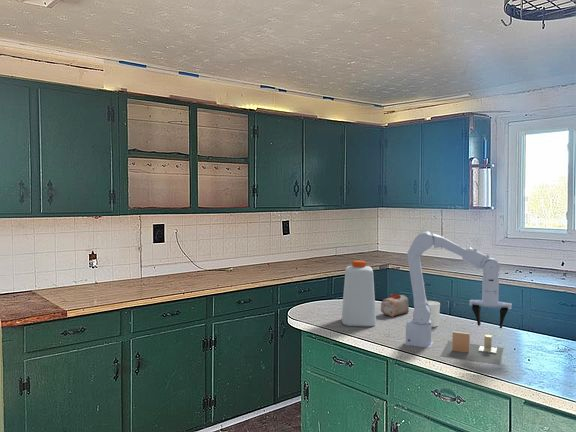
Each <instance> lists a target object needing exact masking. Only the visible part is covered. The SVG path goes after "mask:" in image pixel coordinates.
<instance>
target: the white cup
mask: <svg viewBox="0 0 576 432" xmlns="http://www.w3.org/2000/svg"><path fill="white" fill-rule="evenodd" d="M427 303H428V305H429V306H430V308H431V314H430V320H431V328H435V327H438V326H439V321H440V311H441V309H440V307H441V303H440V301H436V300H435V301H434V300H427Z"/></svg>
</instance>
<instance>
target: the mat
mask: <svg viewBox="0 0 576 432" xmlns="http://www.w3.org/2000/svg"><path fill="white" fill-rule="evenodd" d="M480 346H484V344H477V343H476V344H474V343H470V352H469V353H467V352H460V351H452V340H448V341H447V343H446V345H445V347H444V348H443V350H442V352H441V354H440V357H442V358H450V359H456V360H457V359H458V360H463V361H471V362H477V363H484V364H485V363H486V364H492V365H499V366H500V365H501V363H502V359H503V358H502V357H503V352H504V347H501V346H500V347H499V346H493V345H492V347H494V348H497V352H496V354H491V353H483V352H479V348H480Z"/></svg>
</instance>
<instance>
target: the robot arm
mask: <svg viewBox="0 0 576 432" xmlns="http://www.w3.org/2000/svg"><path fill="white" fill-rule="evenodd" d="M432 247H433V248H434V249H437V248H438V249H439V248H443V249H445V250H447V251H449V252H452V253H453V254H456V255H458V256H461V258H462V262H464V263H466V264H468V265H471V266H473V267H475V269H476V268H477V269H481V270H482V279H481V281H482V283H481V287H482V288H481V299H470V300H469V301H468V302H469V304H468V305H469V307H470V306H471V310H472V311H473V313H474V316H475V319H476V321H477V322H476V323H477V326H479V327H480V326H481V322H482V321H481V310H482V309H481V307H485V308H495V309H500V310H499V329H503V324H504V320H505V318H506V315H507V313H508V312H509V310H512V305H513V304H512V303H511V302H504V301H499V299H500V298H499V294H500V293H499V292H500V290H499V289H500V287H499V286H500V285H499V284H500V280H499V277H500V276H499V272H500V270H501V267H500V264H499V261H498V260H497V259H496V258H494V257H492V256H490V255H489V254H485V253H482V252H480V251H478V249H477V247H473V248H472V247H468V248H464V247H463V246H460V245H459V244H457V243H455V242H453V241H452V240H450V239H447V238H446V237H443V236H442V235H439V234H436V233H432V232H431V231H428V230H423V231H421V232H420V233H419V234H418V235H417V236H416V237H415V238H414V239H413V241H412V242H411V245H410V247H409V249H408V251H407V252H406V253H407V254H406V257H407V262H408V269H409V270H408V271H409V275H410V283H411V284H410V285H411V289H412V290H411V291H412V296H413V297H412V298H413V308H414V309H413V311H412V317H413V319H411V320H407V321H406V323H405V324H406V326H405V346H413V347H422V348H427V349H430V348H431V347H432V345H433V344H434V341H433V340H432V327H431V320H430V314H431V308H430V306H429V305H428V303H427V301H428V299H427V296H426V288H425V281H424V276H423V268H422V262H421V256H422V255H423V254H424V253H425V252H426V251H427V250H429V249H431V248H432Z"/></svg>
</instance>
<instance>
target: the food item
mask: <svg viewBox="0 0 576 432" xmlns="http://www.w3.org/2000/svg"><path fill="white" fill-rule="evenodd" d="M380 312H381V313H382V314H383V315H385V316H388V317H392V318H394V317H396V316H400V315H404V314H407V313H409V312H410V311H409V298H408V297H407V296H406V295H404V294H398V293H396V294H395V293H394V294H393V293H390V295H389V297H387V298H384V299H382V301H381V302H380Z"/></svg>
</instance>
